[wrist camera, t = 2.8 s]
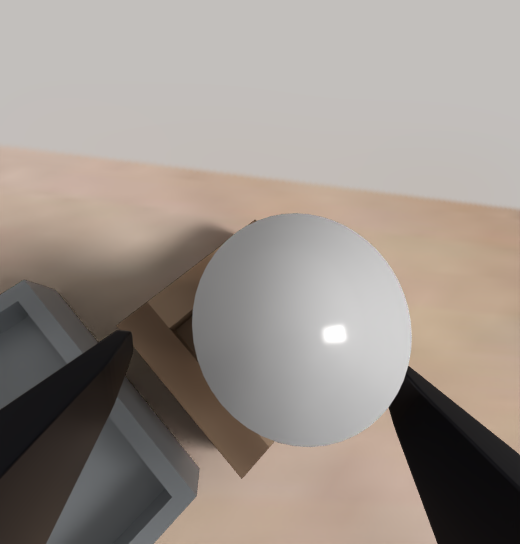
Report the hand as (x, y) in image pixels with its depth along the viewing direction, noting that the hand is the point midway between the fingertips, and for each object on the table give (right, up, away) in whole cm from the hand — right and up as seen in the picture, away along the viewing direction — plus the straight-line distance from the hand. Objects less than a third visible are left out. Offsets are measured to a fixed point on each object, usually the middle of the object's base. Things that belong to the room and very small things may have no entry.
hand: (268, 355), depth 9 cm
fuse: (-1, -1, +8) cm, 8 cm away
